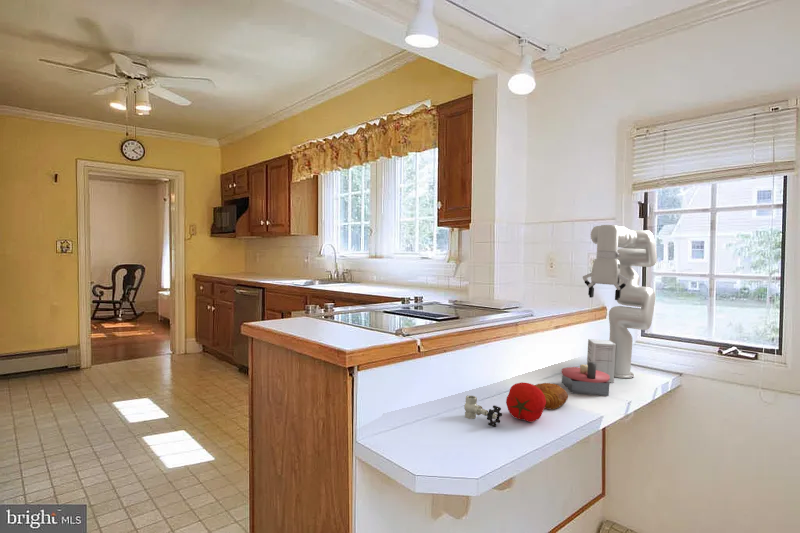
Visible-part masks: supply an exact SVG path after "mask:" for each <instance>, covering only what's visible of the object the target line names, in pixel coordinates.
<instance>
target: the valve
mask: <svg viewBox="0 0 800 533" xmlns="http://www.w3.org/2000/svg"><path fill="white" fill-rule="evenodd" d="M477 401H478V397H477V396H474V395H467V396H466V397H465V403H464V407H463V408H464V411H465V412H464V418H467V419H469V420H475V419H476V417H477V416H481V415H482V416H485V417H486V420H488V421H489V422H488V423H487V425H488V426H490V427H493V428H496V427H497V424H500V423H501V420H500V418H501V417H502V416H503V413H502V412H501V410H502V408H501V407H500V406H497V405H495V404H493V405H492V408H493V409H492V408H490V409H488V410H487V409H484V408H483V406H482V405H478V402H477Z"/></svg>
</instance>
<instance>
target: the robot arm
mask: <svg viewBox="0 0 800 533" xmlns="http://www.w3.org/2000/svg"><path fill="white" fill-rule="evenodd" d="M590 239H591V241H592V243H593V244H595V245H596V254H595V259H594V260H593V263H592V268H591V272H590V273H587V274H585V275H582V279H583V281H584V284H585V285H586V286H587V288H588V296H589V298H594V295H595V288H594V286H595V285H596V284H598V285H599V284H600V285H609V286H614V287H615V289H616V290H615V292H614V293H615V294H614V300H615V301H616V302H617V303H618V304H619V305H617V306H613V307H611V308H610V309H609V312H608V320H609V322H608V323H609V341H611V342H613V343H614V344H616V348H615V368H614V378H618V379H619V378H620V379H633V378H634V377H635V374H634V373H633V372H632V371H631V368H632V367H631V366H632V352H633V336H632V334H631V332H630V331H629V329H633V330H641V331H647V330H649V329H650V328H651V326H652V322H653V316H654V309H655V305H656V304H655V303H656V293H655V291H654V289H653V288H652V287H649V286H641V285H640V280H641V278H640V276H639V273H637V271H636V270H635V269H634V268H633V267H640V268H641V267H642V268H643V267H645V268H651V267H654V266H655V265H656V264H657V261H658V260H657V259H658V255H657V248H656V240H655V237H654V235H653V233H652V232H651V231H650V230H647V229H645V230H644V229H643V230H642V229H640V230H638V229H637V230H636V229H630V228H627V227H625V226H623V225H616V224H615V225H614V224H601V225H595V226H593V228H592V229H591V230H590ZM618 248H619V249H618ZM589 278H590V280H589ZM632 377H633V378H632Z"/></svg>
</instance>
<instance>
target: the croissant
mask: <svg viewBox="0 0 800 533" xmlns="http://www.w3.org/2000/svg"><path fill="white" fill-rule="evenodd" d="M534 385H535V386H536V387H537V388H539V389H540V390H541V391H542V392H543V394H544V395H545V399H546V405H545V408H544V409H547V410H555V409H559V408H560V407H561V406H563V405H564V404H565V403H566V402H567V401H568V399H569V394H568V392H567V391H566V390H565V389H564V387H561V385H559V384H555V383H550V382H543V383H537V384H534Z"/></svg>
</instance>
